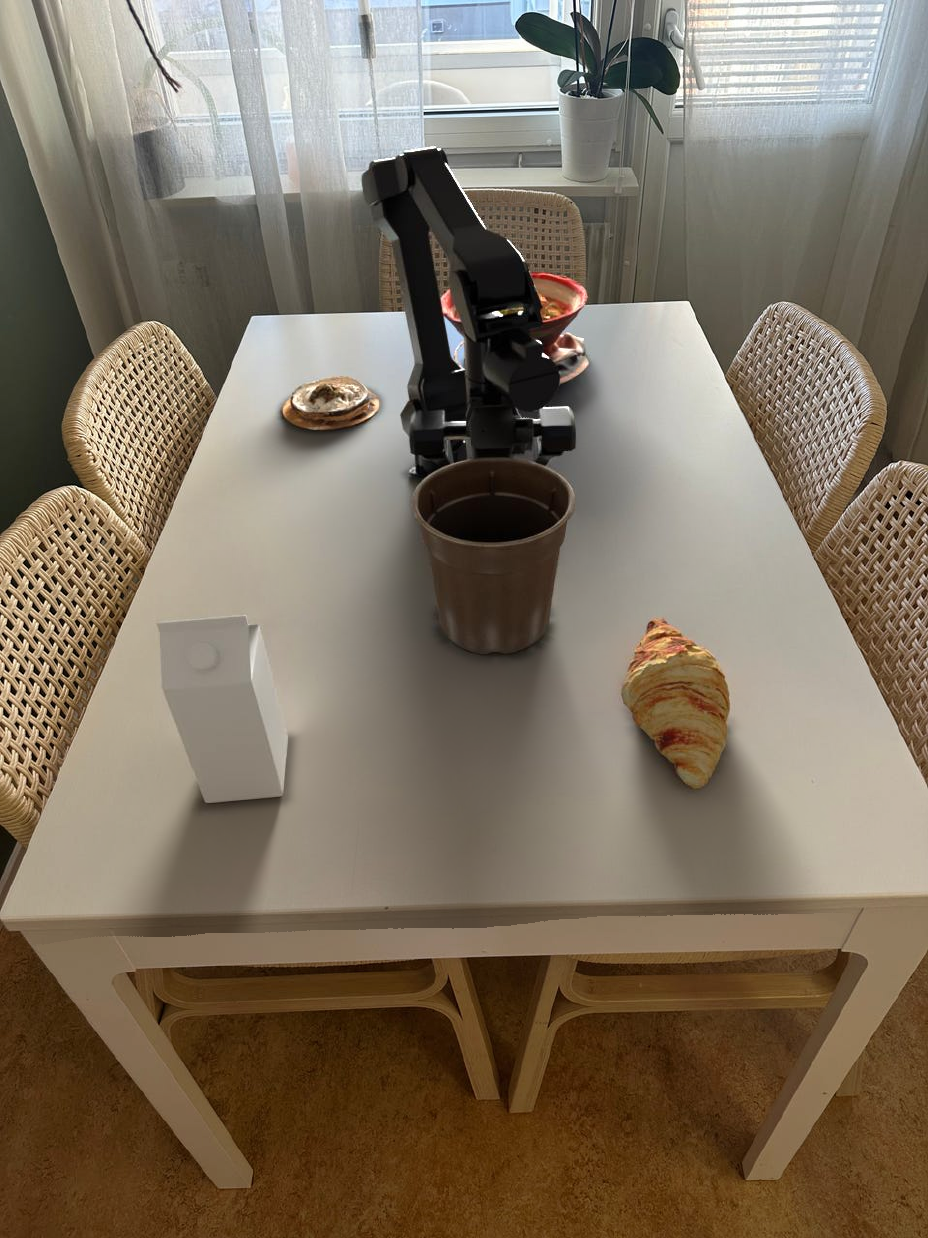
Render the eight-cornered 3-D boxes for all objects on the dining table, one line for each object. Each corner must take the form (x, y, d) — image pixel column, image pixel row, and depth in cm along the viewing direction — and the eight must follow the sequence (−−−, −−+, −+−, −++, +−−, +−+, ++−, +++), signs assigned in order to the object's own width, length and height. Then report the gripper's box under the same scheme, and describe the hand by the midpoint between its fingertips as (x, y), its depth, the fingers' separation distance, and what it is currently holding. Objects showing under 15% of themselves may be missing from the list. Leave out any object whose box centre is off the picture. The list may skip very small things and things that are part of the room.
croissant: (722, 818, 80) (779, 769, 76) (630, 792, 77) (684, 738, 72) (673, 656, 96) (718, 607, 91) (596, 629, 93) (637, 576, 88)
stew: (457, 329, 158) (453, 236, 147) (591, 332, 154) (597, 237, 144) (431, 402, 137) (424, 300, 126) (585, 407, 134) (592, 303, 123)
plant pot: (477, 558, 106) (473, 440, 95) (594, 604, 99) (604, 482, 88) (393, 633, 96) (378, 511, 86) (516, 691, 89) (517, 565, 78)
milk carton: (215, 745, 85) (164, 594, 72) (288, 738, 85) (250, 587, 73) (205, 804, 79) (147, 653, 67) (283, 797, 80) (241, 645, 67)
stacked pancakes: (370, 379, 143) (368, 355, 141) (386, 422, 132) (384, 397, 130) (280, 392, 141) (276, 368, 138) (288, 437, 130) (284, 411, 127)
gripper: (401, 410, 89) (412, 534, 100) (584, 404, 89) (576, 530, 99) (407, 362, 98) (417, 482, 108) (574, 357, 97) (568, 477, 107)
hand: (493, 493), depth 105 cm, fingers open, 9 cm apart
